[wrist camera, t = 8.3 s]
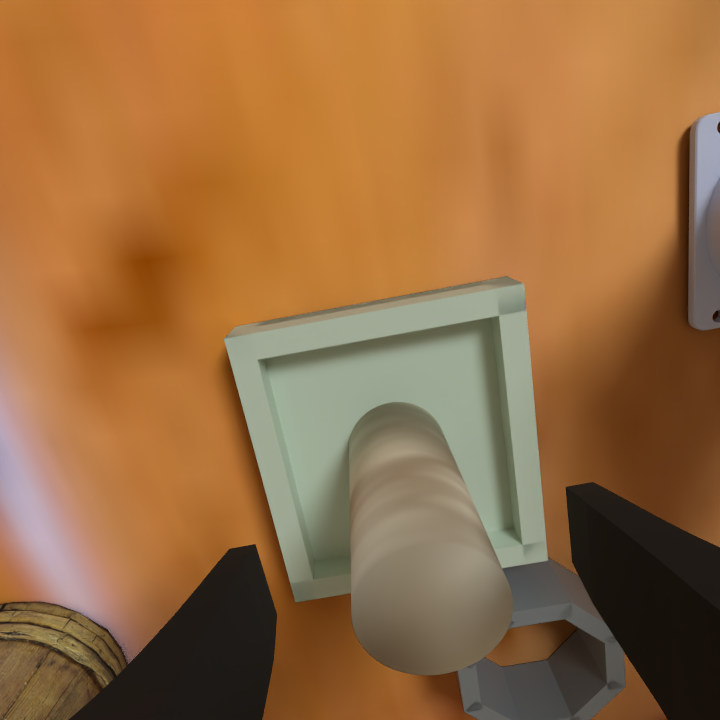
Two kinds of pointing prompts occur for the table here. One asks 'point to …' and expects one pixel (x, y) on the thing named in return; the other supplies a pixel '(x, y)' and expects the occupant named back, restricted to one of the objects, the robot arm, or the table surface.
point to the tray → (385, 385)
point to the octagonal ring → (563, 668)
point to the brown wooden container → (52, 661)
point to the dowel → (419, 549)
